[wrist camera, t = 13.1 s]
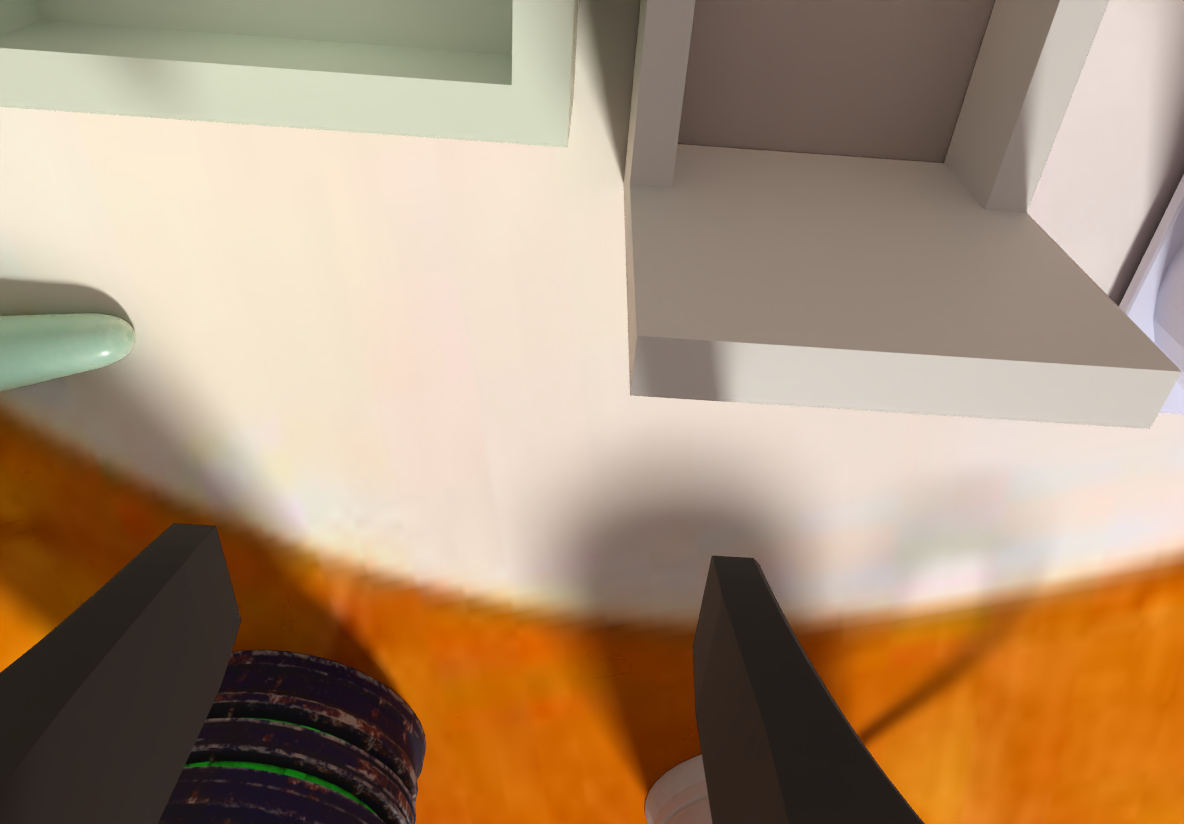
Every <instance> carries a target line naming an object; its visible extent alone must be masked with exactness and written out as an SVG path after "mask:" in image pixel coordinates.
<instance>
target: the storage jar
mask: <svg viewBox="0 0 1184 824" xmlns="http://www.w3.org/2000/svg"><path fill="white" fill-rule="evenodd" d="M425 750H426V741H425V734H424V731H423V728H422V725H421V723H420V721H419V720H418V718H417V716H416V715H415V713H414V712H413V710H412V709H411V708H410V707H409V706H408V705H407V704H406V703H405V702H404V700H403V699H402V698H400V697H399V696H398V695H397V694H395V693H394V692H393V691H392V690H391V689H389V688H388V687H386V686H385V685H383V684H382V683H380V682H378V681H377V680H375V679H374V678H372V677H370V676H368V675H366V674H364V673H362V672H359V671H357V670H355V669H353V668H351V667H348V666H345V665H342V664H339V663H337V662H334V661H331V660H327V659H323V658H319V657H315V656H311V655H306V654H299V653H293V652H287V651H270V650H255V651H239V652H233V653H231V656H230V659H229V662H228V665H227V668H226V671H225V674H224V677H223V680H222V683H221V686H220V689H219V691H218V693H217V696H216V698H215V700H214V702H213V705H212V707H211V709H210V711H209V713H208V716H207V718H206V720H205V722H204V724H203V727H202V729H201V731H200V733H199V735H198V738H197V740H196V742H195V744H194V746H193V748H192V751H191V753H190V755H189V757H188V759H187V761H186V764H185V766H184V768H183V770H182V772H181V774H180V777H179V779H178V781H177V783H176V785H175V787H174V790H173V792H172V794H171V796H170V798H169V800H168V803H167V805H166V807H165V809H164V811H163V813H162V816H161V818H160V820H159V822H158V824H415V820H416V811H415V802H416V797H417V792H418V786H417V779H418V777H419V775H420V773H421V771H422V766H423V760H424V755H425Z"/></svg>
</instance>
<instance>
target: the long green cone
mask: <svg viewBox="0 0 1184 824" xmlns="http://www.w3.org/2000/svg"><path fill="white" fill-rule="evenodd" d="M134 343H135V333H134V330H133V328H132V327H131V325H130V324H129V323H128V322H126V321H125V320H123V319H121V318H119V317H116V316H112V315H106V314H97V313H81V314H46V315H11V316H0V392H2V391H6V390H11V389H15V388H19V387H24V386H28V385H32V384H36V383H40V382H44V381H48V380H52V379H56V378H61V377H65V376H69V375H73V374H77V373H81V372H85V371H89V370H93V369H97V368H101V367H105V366H107V365H110V364H112V363H115V362H117V361H119V360H121V359H122V358H124V357H125V356H127V355H128V354H129V352H130V351H131V350H132V348H133V346H134Z"/></svg>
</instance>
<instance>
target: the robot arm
mask: <svg viewBox="0 0 1184 824" xmlns="http://www.w3.org/2000/svg"><path fill="white" fill-rule="evenodd" d="M1119 308H1120V309H1121V310H1122V311H1123V312H1124V313H1125V314H1126V315H1127V316H1128V317H1129V318H1130V319H1131V320H1132V321H1133V322H1134V323H1135V324H1136V325H1137V326H1138V327H1139V328H1140V329H1141V330H1142V331H1143V332H1144V333H1145V334H1146V335H1147V336H1148V337H1149V338H1150V339H1151V340H1152V342H1153V343H1154V344H1155V345H1156V346H1157V347H1158V348H1159V349H1160V350H1161V351H1162V352H1163V353H1164V354H1165V355H1166V356H1167V357H1168V358H1169V359H1170V360H1171V361H1172V362H1173V363H1174V364H1175V365H1176V366H1177V367H1178V368H1179V369H1180V370H1181V371H1182V373H1181V375H1180V376H1179V378H1178V380H1177V382H1176V383H1175V385H1174V387H1173V389H1172V390H1171V392H1170V394H1169V396H1168V397H1167V399H1166V401H1165V403H1164V404H1163V406H1162V408H1161V410H1160V411H1159V413H1165V414H1180V415H1184V175H1183V177H1182V179H1181V181H1180V183H1179V185H1178V187H1177V189H1176V191H1175V193H1174V195H1173V197H1172V199H1171V201H1170V203H1169V205H1168V207H1167V209H1166V211H1165V214H1164V216H1163V218H1162V220H1161V222H1160V224H1159V226H1158V228H1157V230H1156V232H1155V234H1154V236H1153V238H1152V240H1151V242H1150V244H1149V246H1148V248H1147V250H1146V252H1145V254H1144V256H1143V258H1142V260H1141V262H1140V264H1139V267H1138V269H1137V271H1136V273H1135V275H1134V277H1133V279H1132V281H1131V283H1130V285H1129V287H1128V289H1127V291H1126V293H1125V295H1124V297H1123V299H1122V301H1121V303H1120V305H1119ZM240 623H241V617H240V613H239V610H238V606H237V602H236V599H235V595H234V591H233V587H232V584H231V580H230V576H229V572H228V569H227V565H226V561H225V557H224V554H223V550H222V546H221V542H220V539H219V535H218V531H217V528H216V526H209V525H192V524H176V523H174V524H172V525H171V526H170V527H169V528H168V529H167V530H166V531H164V532H163V533H162V534H161V535H160V536H159V537H157V538H156V539H155V540H154V541H153V542H152V543H151V544H149V545H148V546H147V547H146V548H145V549H144V550H143V551H142V552H141V553H139V554H138V555H137V556H136V557H135V558H134V559H133V560H132V561H131V562H129V563H128V564H127V565H126V566H125V567H124V568H123V569H122V570H121V571H119V572H118V573H117V574H116V575H115V576H114V577H113V578H112V579H111V580H109V581H108V582H107V583H106V584H105V585H104V586H103V587H102V588H100V589H99V590H98V591H97V592H96V593H95V594H94V595H93V596H91V597H90V598H89V599H88V600H87V601H86V602H85V603H83V604H82V605H81V606H80V607H79V608H78V609H77V610H75V611H74V612H73V613H72V614H71V615H70V616H68V617H67V618H66V619H65V620H64V621H63V622H61V623H60V624H59V625H58V626H57V627H56V628H55V629H53V630H52V631H51V632H50V633H49V634H48V635H46V636H45V637H44V638H43V639H42V640H40V641H39V642H38V643H37V644H36V645H34V646H33V647H32V648H31V649H30V650H28V651H27V652H26V653H25V654H23V655H22V656H21V657H20V658H18V659H17V660H16V661H15V662H13V663H12V664H11V665H10V666H8V667H7V668H6V669H5V670H3V671H2V672H1V673H0V824H158V822H159V820H160V818H161V816H162V813H163V811H164V809H165V807H166V805H167V803H168V800H169V798H170V796H171V794H172V792H173V790H174V787H175V785H176V783H177V781H178V779H179V777H180V774H181V772H182V770H183V768H184V766H185V764H186V761H187V759H188V757H189V755H190V753H191V751H192V748H193V746H194V744H195V742H196V740H197V738H198V735H199V733H200V731H201V729H202V727H203V724H204V722H205V720H206V718H207V716H208V713H209V711H210V709H211V707H212V705H213V702H214V700H215V698H216V696H217V693H218V691H219V689H220V686H221V683H222V680H223V677H224V674H225V671H226V668H227V665H228V662H229V659H230V656H231V653H232V649H233V646H234V643H235V639H236V636H237V633H238V629H239V626H240ZM693 662H694V688H695V709H696V718H697V725H698V732H699V739H700V746H701V752H702V759H703V766H704V772H705V779H706V785H707V792H708V798H709V805H710V811H711V818H712V824H924V822H923V821H922V820H921V819H920V818H919V816H918V815H917V814H916V813H915V812H914V810H913V809H912V808H911V807H910V805H909V804H908V803H907V801H906V800H905V799H904V798H903V796H902V795H901V794H900V792H899V791H898V790H897V789H896V787H895V786H894V785H893V784H892V782H891V781H890V780H889V778H888V777H887V776H886V774H885V773H884V772H883V770H882V769H881V768H880V766H879V765H878V764H877V762H876V761H875V759H874V758H873V757H872V755H871V754H870V752H869V751H868V750H867V748H866V747H865V745H864V744H863V743H862V741H861V740H860V738H859V737H858V735H857V734H856V732H855V731H854V729H853V728H852V726H851V725H850V723H849V722H848V721H847V719H846V718H845V716H844V715H843V713H842V712H841V710H840V709H839V707H838V705H837V704H836V702H835V701H834V699H833V698H832V696H831V695H830V693H829V691H828V690H827V688H826V686H825V685H824V683H823V681H822V680H821V678H820V677H819V675H818V673H817V672H816V670H815V668H814V667H813V665H812V663H811V662H810V660H809V658H808V657H807V655H806V653H805V652H804V650H803V648H802V646H801V645H800V643H799V641H798V639H797V638H796V636H795V634H794V632H793V630H792V628H791V627H790V625H789V623H788V621H787V619H786V617H785V616H784V614H783V612H782V610H781V608H780V606H779V604H778V602H777V600H776V598H775V596H774V594H773V592H772V590H771V588H770V586H769V584H768V582H767V580H766V578H765V576H764V574H763V572H762V569H761V567H760V565H759V564H758V563H757V561H756V560H755V559H754V558H742V557H725V556H712V558H711V563H710V568H709V572H708V577H707V582H706V586H705V591H704V596H703V601H702V605H701V610H700V615H699V620H698V624H697V629H696V634H695V639H694V643H693Z"/></svg>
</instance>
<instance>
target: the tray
mask: <svg viewBox="0 0 1184 824" xmlns="http://www.w3.org/2000/svg"><path fill="white" fill-rule="evenodd" d="M577 18H578V0H0V107H11V108H25V109H39V110H53V111H67V112H81V113H95V114H109V115H123V116H137V117H151V118H165V119H179V120H193V121H207V122H221V123H235V124H249V125H263V126H277V127H291V128H305V129H319V130H333V131H347V132H361V133H375V134H389V135H403V136H417V137H431V138H445V139H459V140H473V141H487V142H501V143H515V144H529V145H543V146H557V147H567V146H568V138H569V130H570V122H571V113H572V105H573V95H574V76H575V57H576V38H577Z"/></svg>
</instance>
